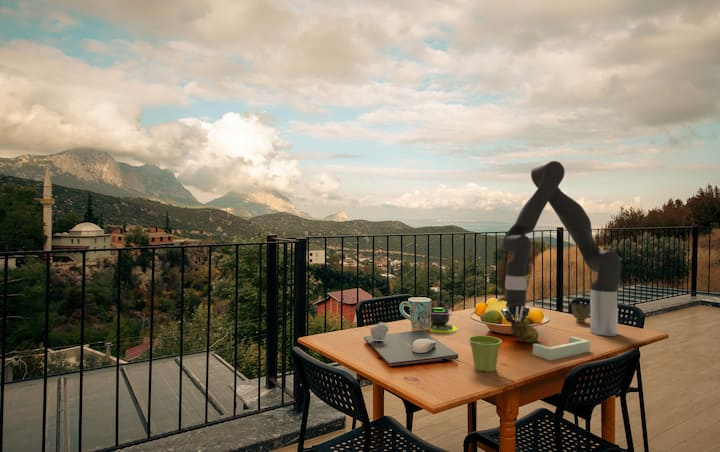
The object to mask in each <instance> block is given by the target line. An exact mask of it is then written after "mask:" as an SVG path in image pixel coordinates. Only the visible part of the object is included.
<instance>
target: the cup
mask: <svg viewBox="0 0 720 452" xmlns="http://www.w3.org/2000/svg"><path fill="white" fill-rule="evenodd" d="M570 305H571V311H572V315H573V317H574V318H575V319H576V320H575V321H576V322H577V323H579V322H580V324H585V323H586V320H587V319H588V318H589V316H590V304H586V303H581V302H580V303H578V304H577V303H573V302H572V303H571V304H570Z"/></svg>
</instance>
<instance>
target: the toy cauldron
mask: <svg viewBox="0 0 720 452" xmlns="http://www.w3.org/2000/svg"><path fill="white" fill-rule="evenodd" d="M434 303H435V304H438V301H434ZM441 303H443V304H442V305H445V304H444V301H441ZM446 307H449V305H447V304H446ZM446 307H445V306H444V307H442V306H441V307H434V306H433V308H431V309H432V313H431V322H430V323H431V330H430V331H429V332H431V333H439V334H440V333H441V334H442V333H453V332H456V331H458V328H457V326H454V325H452V324H448V322H449V321H450V316H451V317H452V315H453V314H452V313H454V311H452V310H451V309H447V308H446Z"/></svg>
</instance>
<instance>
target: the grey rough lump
mask: <svg viewBox="0 0 720 452" xmlns="http://www.w3.org/2000/svg"><path fill="white" fill-rule="evenodd" d="M369 330H370V335H371V338H372V339H373V340H374V339H376V340H382V339H385V338H386V335H387V333H388V331H389V326H388V325H387V324H386V322H381V321H380V322H378V323H377V324H376V325H373V326H372V327H371V328H370V329H369Z"/></svg>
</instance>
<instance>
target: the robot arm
mask: <svg viewBox="0 0 720 452" xmlns="http://www.w3.org/2000/svg"><path fill="white" fill-rule="evenodd" d="M530 176H531V181H532V183H533V185H535V188H537V189H536V191H534V193H533V195H532V196H531V197H530V198H529V199H528V200H527V201H526V203H525V204H524V205H523V207H522V208H521V210H520V212H519V214H518V217H517V218H516V221H515V223H514V224H513V225H512V226H511V227H510V228H509V230H508V231H507V233H505V235H504V236H503V239H502V243H501V244H502V249H503V251H505V252H506V253H510V254H514V255H513V258H512V259H509V260H507V261H506V264H505V265H506V267H505V268H506V269H505V280H504V287H505V291H504V298H505V301H506V304H505V308H504V309H501V311H500V312H501V313H502V315H503V317H504V319H505V321H506V322H508V323H509V324H510V325H512V324H513V323H514V322H516V321H524V322H525V319H526V317H527V316H528V314H529V311H530V308H529V307H527V306H526V302H525V301H527V287H528V286H527V263H528V260H529V257H530V255H531V254H530V253H531V251H532V242H531V239H530V238H529V237H528V236H527V234H530V233H532V232H533V231H534V230H535V228H536V225H537V223H538V221H539V219H540V217H541V215H542V213H543V210H544V209H545V207H546V205H547V204H548V203H549V205H550V206H551V208H552V210H554V213H555V214H556V215H557V217H558V218H559V220H560V222H561V224H562V225H563V227H564V228H565V230H566V231H567V232H568V234H569V236H570V237H571V239H572V240H573V242H574V243H575V245H576V246H577V248H578V250H579V252H580V254H581V256H582V258H583V260H584V263H585V264H586V266H587V267H588V268H589V269H590V270H591V271H593V272H594V273H598V276H597V279H595V280H594V281H591V282H590V287H589V288H590V291H589V292H590V298H589V299H590V301H589V302H590V304H589V305H590V313H589V316H590V321H589V323H590V325H589V326H590V327H589V331H590V333H592V334H595V335H598V336H599V335H600V336H606V337H609V336H610V337H614V336H617V335H618V333H619V310H618V286H619V285H620V281H621V268H622V266H621V265H622V263H621V257H620V256H619V254H618V253H617V252H616V251H614V250H610V249H609V250H608V249H605V250H604V249H601V248H600V247H599V246H598V244H597V243H596V241H595V240H594V238H593V234H592V223H591V220H590V217H589V216H588V214H587V212H586V211H585V209H584V208H583V207H582V205H581V204H579V202H577V201H575V200H574V199H573V198H571V197H570V196H568V195H567V194H566V193H565V192H563V191H562V190H561V189H560V187H559V186H560V184H561V183H562V182H563V180H564V177H565V168H564V166H563V164H562V163H561V162H559V161H557V160H551V161H547V162H544V163H541V164H538V165H536V166H534V167H533V168H532V169H531V172H530ZM513 318H514V320H513ZM517 318H518V320H517ZM510 331H511V330H510ZM511 333H512V331H511Z"/></svg>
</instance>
